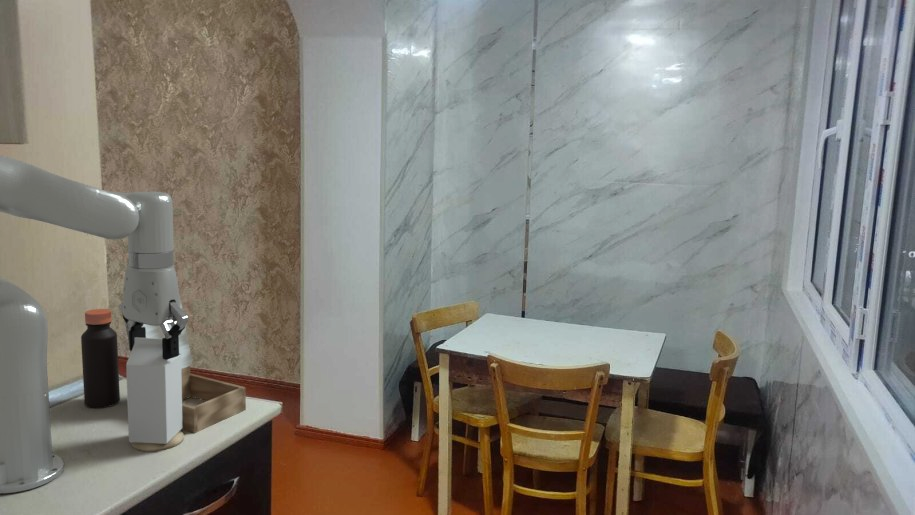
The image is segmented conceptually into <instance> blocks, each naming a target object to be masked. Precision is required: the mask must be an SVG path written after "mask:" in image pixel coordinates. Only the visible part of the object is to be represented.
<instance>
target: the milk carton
mask: <svg viewBox="0 0 915 515" xmlns="http://www.w3.org/2000/svg"><path fill="white" fill-rule="evenodd" d="M129 353H130V354H129V356H128V359H127V360H126V366H125V367H126V396H127V401H126V402H127V427H128V430H127V431H128V442H129V443H132V442H140V443H159V444H167V443H168V442H169V441H170V440H171V439H172V438H173V437H174V436H175V435H176V434H177V433H178V432H179V431H181V430H182V403H183V400H182V377H181V354H180V353H179V355H178V356H177V357H174V358H171V359H167V360H165V359H163V351H162V339H157V338H138V337H135V344H134V346H133V349H132V351H131V352H129Z"/></svg>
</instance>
